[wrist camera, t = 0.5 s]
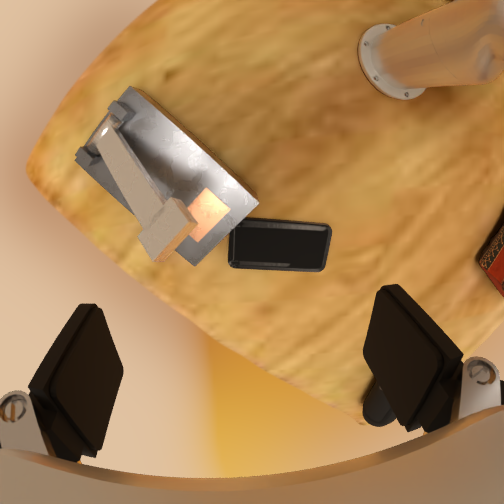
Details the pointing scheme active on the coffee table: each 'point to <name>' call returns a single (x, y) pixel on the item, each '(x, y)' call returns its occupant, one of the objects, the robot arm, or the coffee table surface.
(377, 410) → the portable speaker
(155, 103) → the base block
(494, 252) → the decorative box
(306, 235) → the phone
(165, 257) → the latch bar
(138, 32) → the coffee table surface
